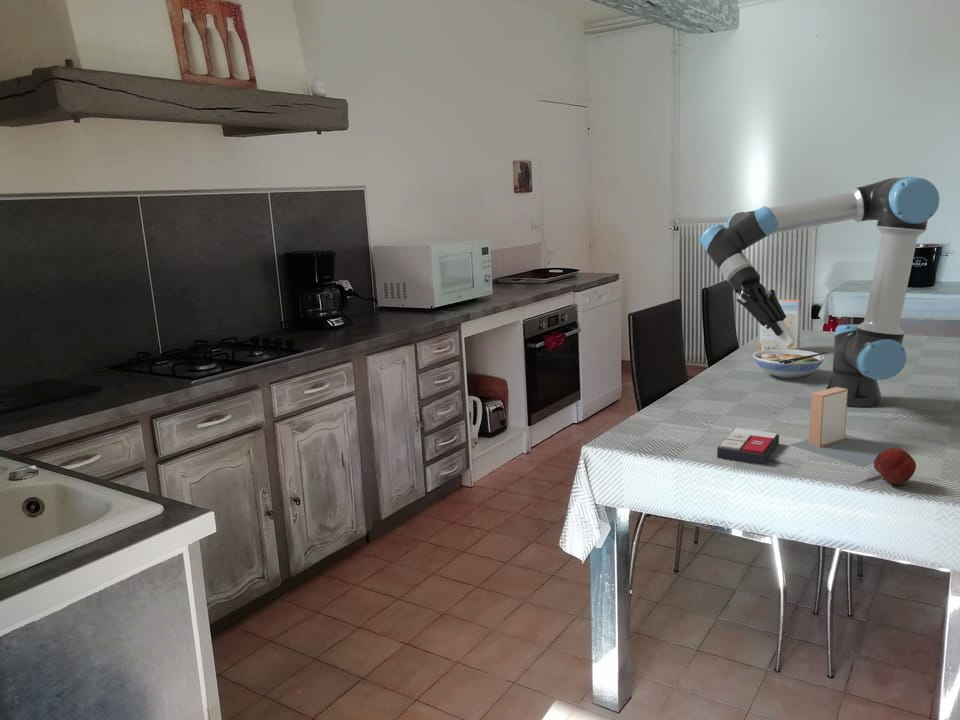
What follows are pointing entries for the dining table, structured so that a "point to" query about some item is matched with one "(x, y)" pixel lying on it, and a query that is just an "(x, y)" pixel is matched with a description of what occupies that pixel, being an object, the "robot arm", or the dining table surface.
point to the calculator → (748, 446)
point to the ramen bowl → (788, 362)
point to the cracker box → (792, 323)
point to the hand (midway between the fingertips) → (790, 344)
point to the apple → (895, 466)
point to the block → (828, 416)
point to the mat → (848, 450)
